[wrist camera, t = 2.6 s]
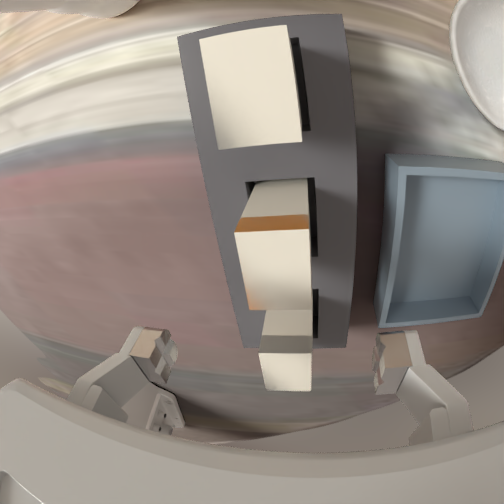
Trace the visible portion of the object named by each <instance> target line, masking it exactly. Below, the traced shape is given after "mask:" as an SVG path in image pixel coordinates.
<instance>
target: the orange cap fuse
mask: <svg viewBox="0 0 504 504" xmlns="http://www.w3.org/2000/svg"><path fill="white" fill-rule="evenodd" d="M234 235H235V240H236V245H237V250H238V255H239V260H240V265H241V270H242V275H243V280H244V285H245V290H246V295H247V300H248V305H249V310H312V273H311V229H310V211H309V196H308V182H307V178H291V179H276V180H262V181H257V182H256V184H255V186H254V189H253V191H252V193H251V195H250V198H249V200H248V202H247V204H246V207H245V209H244V211H243V213H242V216H241V218H240V220H239V222H238V225H237V227H236V229H235V232H234Z"/></svg>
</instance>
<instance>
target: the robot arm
mask: <svg viewBox="0 0 504 504" xmlns="http://www.w3.org/2000/svg"><path fill="white" fill-rule="evenodd" d="M170 337H171V334H170V332H169V330H166V329H158V328H151V327H143V326H135V327H134V328H133V329H132V331H131V333H130V335H129V336H128V338H127V340H126V342H125V343H124V345H123V347H122V349H121V350H120V352H119V353H115V354H114V355H113V356H111V357H110V358H108V359H107V360H105V361H104V362H102V363H101V364H99V365H98V366H96V367H95V368H93V369H92V370H90V371H89V372H87V373H86V374H84V375H83V376H81V377H80V378H78V380H77V382H76V383H75V385H74V387H73V389H72V391H71V392H70V394H69V396H68V398H67V400H65V399H63V398H60V397H58V396H56V395H54V394H52V393H50V392H48V391H46V390H43V389H41V388H39V387H38V386H36V385H34V384H32V383H30V382H28V381H27V380H25V379H22V378H18V379H15V380H14V381H12V382H10V383H9V384H7V385H6V386H4V387H3V388H2V389H0V504H504V421H502V422H499V423H497V424H494V425H491V426H488V427H485V428H482V429H478V430H475V431H474V429H473V424H472V419H471V414H470V409H469V405H468V401H467V400H466V399H465V398H464V397H463V396H462V395H461V394H460V393H459V392H458V391H457V390H456V389H455V388H454V387H453V386H452V385H451V384H450V383H448V381H447V380H446V379H445V378H444V377H442V376H441V375H440V374H439V373H438V372H437V371H436V370H435V369H434V368H433V367H432V366H431V365H430V364H428V365H426V362H425V358H424V354H423V350H422V346H421V343H420V339H419V336H418V332H417V331H416V330H409V331H395V332H383V333H378V334H377V336H376V346H374V348H373V354H372V368H373V371H374V372H375V373H376V375H375V378H374V387H375V395H378V394H393V393H396V395H397V396H398V398H399V399H400V400H401V402H402V403H403V404H404V405H405V407H406V408H407V410H408V411H409V412H410V414H411V415H412V416H413V418H414V419H415V420H416V421H417V423H418V424H419V426H418V428H417V429H416V430H415V431H414V432H413V434H412V435H411V436H410V437H409V446H403V447H397V448H389V449H380V450H370V451H358V452H341V453H340V452H338V453H294V452H275V451H262V450H252V449H243V448H235V447H227V446H221V445H215V444H209V443H203V442H198V441H193V440H188V439H184V438H179V437H175V436H171V434H172V431H173V427H176V428H181V427H184V425H185V421H184V419H183V416H182V414H181V411H180V408H179V406H178V403H177V400H176V397H175V396H174V395H173V394H172V393H170V392H168V391H165V390H163V389H161V388H159V387H157V386H155V385H154V384H152V383H151V382H157V383H163V384H166V383H167V381H168V378H169V376H170V373H171V369H170V366H172V365H173V364H174V363H175V361H176V359H177V346H176V344H175V342H174V341H172V340H171V339H170ZM149 381H151V382H149Z"/></svg>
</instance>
